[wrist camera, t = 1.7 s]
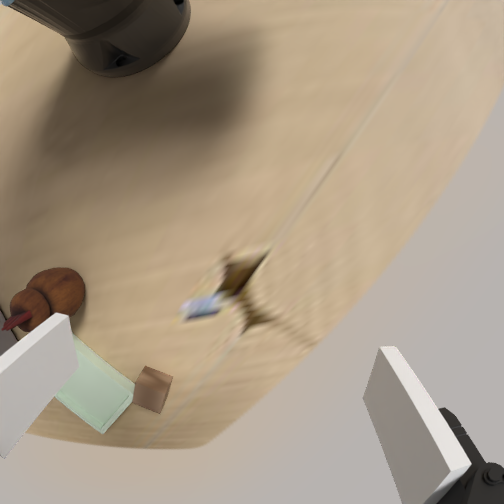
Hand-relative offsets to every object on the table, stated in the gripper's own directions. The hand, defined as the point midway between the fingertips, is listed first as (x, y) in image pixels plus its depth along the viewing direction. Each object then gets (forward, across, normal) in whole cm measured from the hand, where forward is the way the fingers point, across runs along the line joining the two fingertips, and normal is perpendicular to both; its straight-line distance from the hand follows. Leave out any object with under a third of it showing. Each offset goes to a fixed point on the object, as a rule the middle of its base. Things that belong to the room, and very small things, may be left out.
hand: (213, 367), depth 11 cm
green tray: (+22, -23, -24) cm, 40 cm away
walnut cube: (+22, -11, -20) cm, 32 cm away
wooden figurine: (+22, -22, -7) cm, 32 cm away
